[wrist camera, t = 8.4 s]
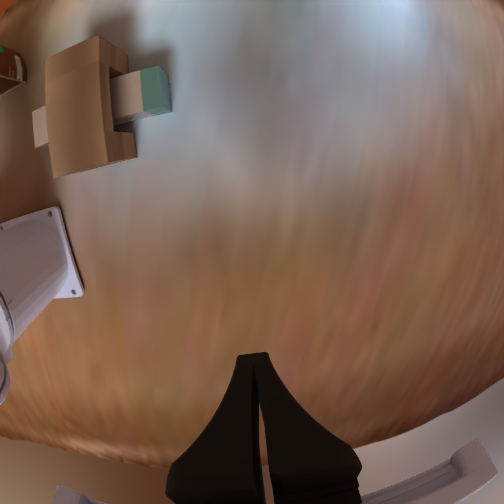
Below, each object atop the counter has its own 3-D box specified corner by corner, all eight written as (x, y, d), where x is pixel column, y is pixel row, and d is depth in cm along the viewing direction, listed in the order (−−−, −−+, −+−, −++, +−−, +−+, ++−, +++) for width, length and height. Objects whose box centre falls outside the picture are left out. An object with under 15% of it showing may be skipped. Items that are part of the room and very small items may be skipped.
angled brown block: (90, 169, 18) (53, 178, 13) (81, 72, 15) (45, 59, 10) (137, 157, 18) (108, 162, 13) (127, 55, 15) (98, 34, 10)
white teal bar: (55, 145, 17) (35, 148, 14) (52, 113, 16) (32, 112, 13) (172, 111, 17) (162, 106, 14) (168, 75, 16) (158, 65, 13)
